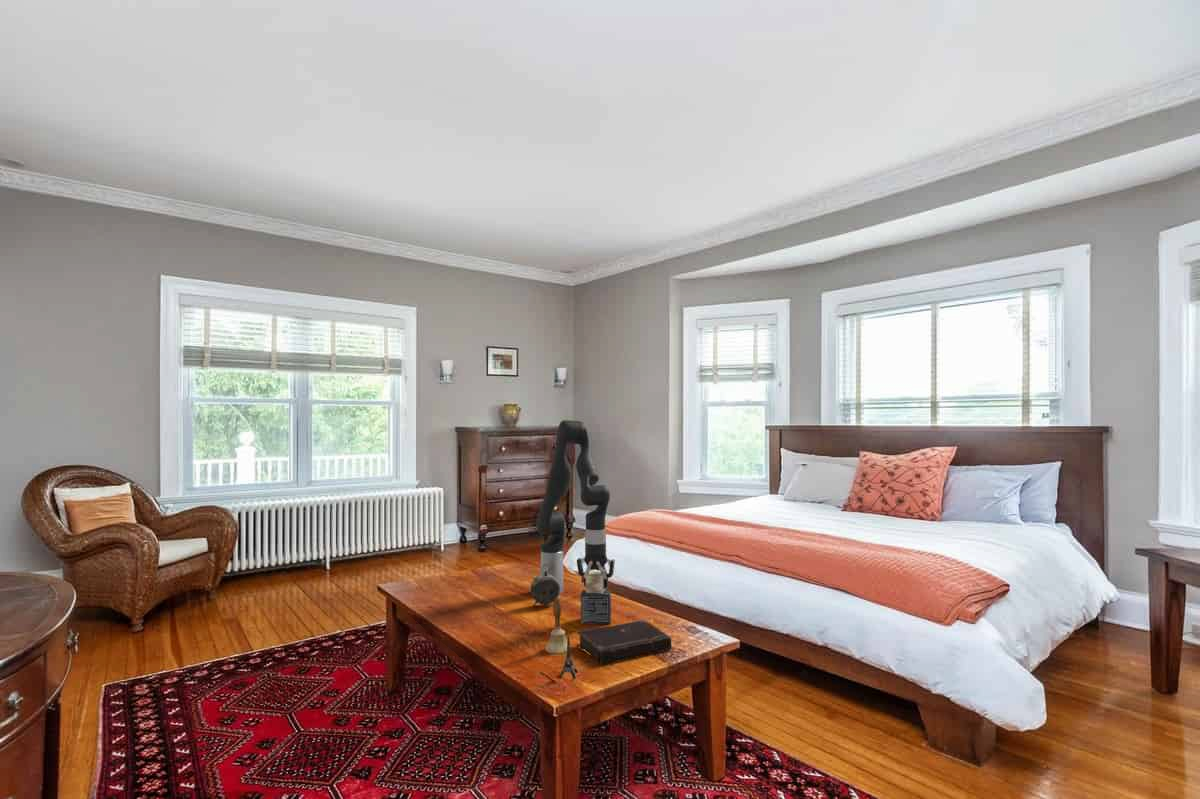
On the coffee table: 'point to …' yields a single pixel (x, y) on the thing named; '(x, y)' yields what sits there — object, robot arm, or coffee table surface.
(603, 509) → the robot arm
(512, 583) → the coffee table surface
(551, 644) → the hand bell
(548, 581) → the alarm clock
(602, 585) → the birch cube
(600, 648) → the diary
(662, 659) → the coffee table surface
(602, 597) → the small box
